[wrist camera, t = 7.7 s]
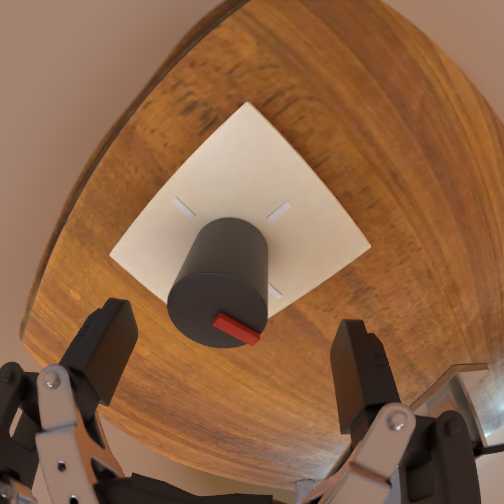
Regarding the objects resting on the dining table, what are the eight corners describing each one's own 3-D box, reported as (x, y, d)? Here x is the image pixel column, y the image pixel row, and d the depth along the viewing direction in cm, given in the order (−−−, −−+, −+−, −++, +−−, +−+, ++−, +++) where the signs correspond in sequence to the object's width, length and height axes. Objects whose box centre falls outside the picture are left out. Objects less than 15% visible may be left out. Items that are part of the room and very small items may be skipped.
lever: (533, 433, 9) (530, 454, 7) (546, 421, 9) (545, 440, 8) (446, 450, 19) (444, 466, 18) (469, 441, 20) (467, 457, 18)
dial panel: (250, 102, 13) (247, 100, 11) (359, 228, 16) (373, 248, 14) (125, 236, 17) (107, 256, 15) (227, 322, 21) (222, 347, 18)
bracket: (452, 364, 24) (485, 449, 13) (485, 363, 25) (516, 432, 13) (399, 415, 30) (415, 488, 19) (437, 410, 30) (455, 473, 19)
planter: (313, 478, 50) (314, 511, 41) (312, 481, 52) (313, 512, 43) (295, 480, 50) (295, 513, 41) (295, 483, 52) (295, 513, 43)
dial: (181, 257, 15) (149, 322, 10) (220, 202, 13) (195, 256, 9) (239, 293, 16) (229, 365, 11) (283, 246, 14) (290, 315, 10)
